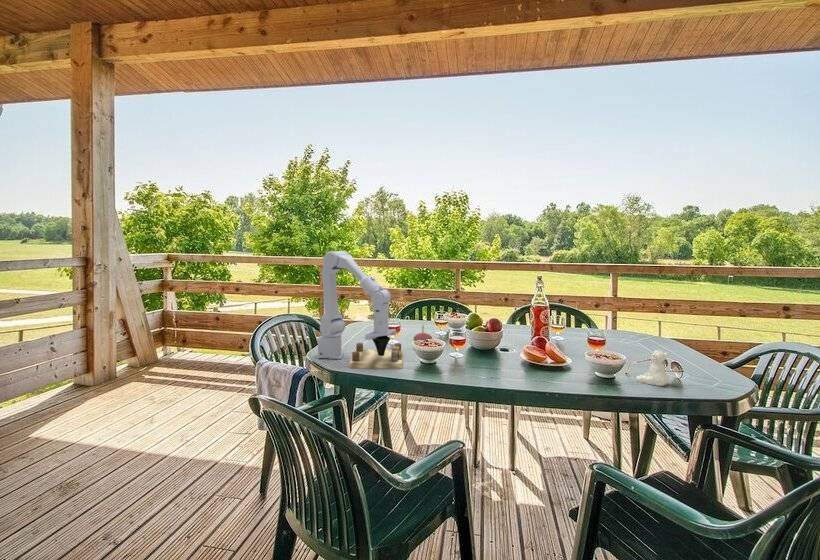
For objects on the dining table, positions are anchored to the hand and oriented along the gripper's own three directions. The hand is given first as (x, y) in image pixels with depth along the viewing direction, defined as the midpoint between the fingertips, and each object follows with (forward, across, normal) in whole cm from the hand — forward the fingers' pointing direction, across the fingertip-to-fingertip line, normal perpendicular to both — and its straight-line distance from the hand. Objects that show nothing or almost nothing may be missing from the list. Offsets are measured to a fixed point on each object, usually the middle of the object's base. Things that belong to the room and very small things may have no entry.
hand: (381, 355), depth 168 cm
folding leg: (+1, +6, -2) cm, 6 cm away
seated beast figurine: (+4, +54, -82) cm, 98 cm away
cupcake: (+4, +30, +5) cm, 31 cm away
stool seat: (+4, +2, +5) cm, 7 cm away
